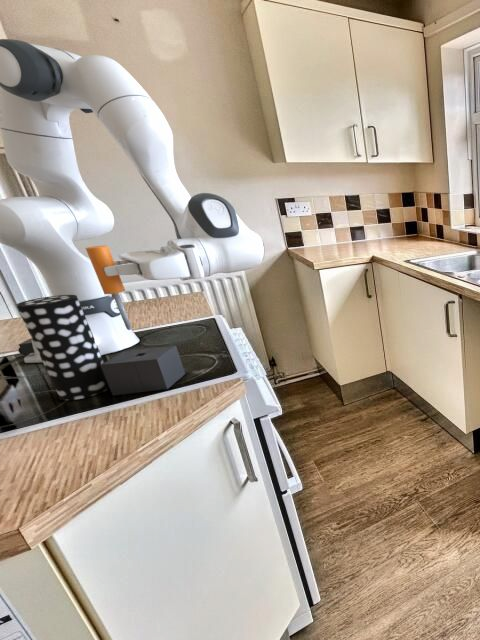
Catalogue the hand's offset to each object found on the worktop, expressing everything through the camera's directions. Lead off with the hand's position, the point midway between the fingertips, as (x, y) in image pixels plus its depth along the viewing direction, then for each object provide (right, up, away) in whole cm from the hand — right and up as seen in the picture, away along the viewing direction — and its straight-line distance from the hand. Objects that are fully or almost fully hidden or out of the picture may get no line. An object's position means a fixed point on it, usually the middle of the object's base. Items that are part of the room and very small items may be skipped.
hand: (101, 270), depth 82 cm
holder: (+1, -23, +10) cm, 25 cm away
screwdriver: (+1, -12, +5) cm, 13 cm away
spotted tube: (-10, -25, +7) cm, 28 cm away
